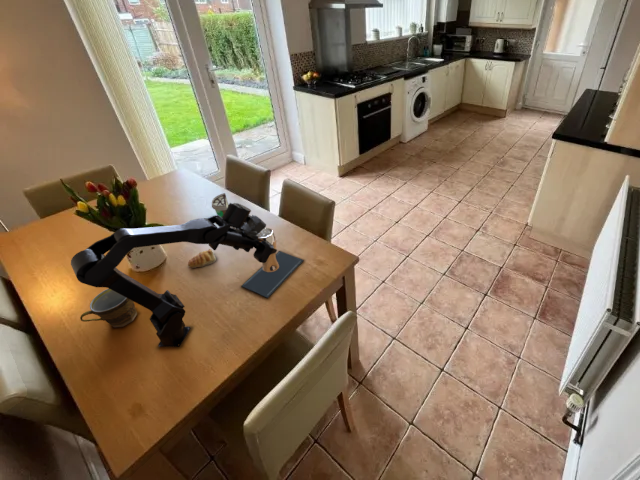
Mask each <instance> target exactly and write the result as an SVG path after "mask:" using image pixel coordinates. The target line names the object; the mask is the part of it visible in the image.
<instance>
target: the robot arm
mask: <svg viewBox="0 0 640 480" xmlns="http://www.w3.org/2000/svg"><path fill="white" fill-rule="evenodd" d="M251 212H252V210H251V208H249V207H247V206H245V205H243V204H241V203H238V202H228V207H227V210H226V212H225V213H224V215H223V217H220V216H219V215H217V214H215V215H211V216H209V217H200V218H195V219H191V220H188V221H187V222H185V223H181V224H174V225H163V226H162V225H161V226H153V227H152V226H151V227H138V228H126V227H125V228H124V227H123V228H120V229H117V230H116V231H114V232H113V233H112V234H111V235H109V236H106V237H104V238H102V239H100V240H99V239H98V240H96V241H95V242H93V243H92V244H90V245H89V246H88V247H87V248H85V249H82V250H80V251H78V252H77V253H76V254H75V255H73V256H72V258H71V259H70V266H71V268H72V270H73V273H74V275H75V277H76V279H77V281H78V282H80V283H81V284H84V285H87V286H90V287H94V288H106V289H111V290H113V291H115V292H117V293H119V294H120V295H122V296H124V297H126V298H128V299H130V300H132V301H133V302H134V303H136V304H137V305H140V306H141V307H143V308H145V309H147V310H149V311H150V312H151V313H152V314H151V315H150V317H149V321H150V323H151V324H152V326H153V327H154V329H155V331H156V332H155V334H156V336H157V338H158V339H159V343H158V344H157V345H158V346H157V347H158V348H180V347H181V346H182V344H183V343H184V341H185V339H186V337H187V336H188V334H189V332H190V331H191V329H192V327H191V326H186V324H185V322H184V320H183V319H184V317H185V315H186V310H185V305H184V304H183V302H182V301H181V299H180V298H179V297H178V296H177V295H176V294H175V293H174V294H173V293H171V292H170V291H169V290H168V289H167V290H165V291H164V293H158V292H156V291H154V290H153V289H151V288H150V287H148V286H146V285H145V284H143V283H141V282H140V281H138V280H136V279H134V278H132V277H131V276H129V275H127V274H126V273H125V272H123V271H122V270H120V269H118V268H117V267H118V266H119V265H120V264H121V262H123V260H124V258H125V257H126V256H127V255H128V253H129V252H131V251H132V250H133V249H136V248H145V247H153V246H160V245H169V244H178V243H189V244H190V243H191V244H195V245H208V246H209V247H210V249H211V250H212V251H216V250H218V248H219V245H221V246H227V247H231V248H233V250H236V251H239V250H240V249H241V250H243V251H244V252H245V253H250V251H251V250H253V248H254V249H255V250H254V252H253V258H254V259H255V260H256V261H257V262H259V263H261V264H262V263H266V261H267V260H268V258H269V256H270V255H271V254H274V253H276V252H277V253H278V248H277V249H275V248H274V246H273V245H272V244H271V243H269V242H268V241H267V240H266V241H262V242H260V241H258V240H257V239H258V237H259V236H257V234H259V233H260V232H261V231H262V230H263V229H264V228H267V223H265V222H264V220H262V219H261V218H260V217H259V216H258V215H254V214H252V215H250V214H251ZM215 224H216V225H215Z"/></svg>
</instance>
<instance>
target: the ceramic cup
mask: <svg viewBox="0 0 640 480" xmlns="http://www.w3.org/2000/svg"><path fill="white" fill-rule="evenodd" d="M89 309H90V310H87V311H85V312H83V313H82V314H81V315H80V317H79V318H80V319H79V320H80V321H81V322H95V321H96V322H97V321H103V322H106V323H107V324H108V325H110V326H111V327H113V328H122V327H125V326H127V325H128V324H130V323H132V322H133V321H134V320H135V318H136V317H137V316H138V311H137V307H136V305H135V302H134V301H132V300H130V299H128V298H126V297H124V296H122V295H120V294H119V293H117V292H115V291H113V290H111V289H109V288H106V289H104V290H102V291H101V292H100V293H98V294H97V295H96V296H94V298H93V299H92V300H91V302H90V303H89ZM89 315H95V316H98V317H99V318H90V319H83V318H84V317H86V316H89Z"/></svg>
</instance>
